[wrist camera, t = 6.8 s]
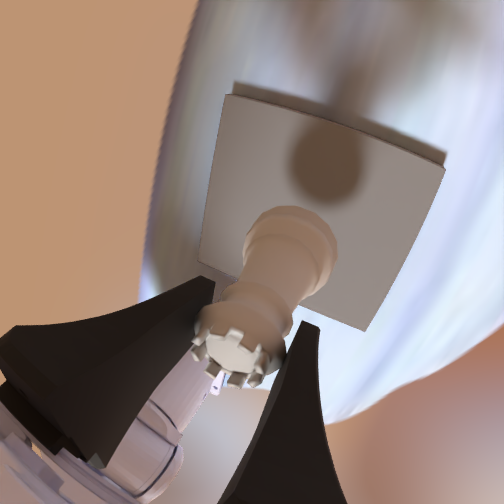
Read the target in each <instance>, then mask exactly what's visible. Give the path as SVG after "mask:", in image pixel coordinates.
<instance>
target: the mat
mask: <svg viewBox="0 0 504 504" xmlns="http://www.w3.org/2000/svg"><path fill="white" fill-rule="evenodd" d="M445 171H446V169H445V168H444V167H443V166H442V165H440V164H438V163H435V162H433V161H431V160H429V159H427V158H425V157H422V156H420V155H418V154H416V153H413V152H411V151H409V150H406V149H404V148H402V147H399V146H397V145H394V144H392V143H390V142H387V141H385V140H382V139H379V138H377V137H374V136H372V135H369V134H366V133H364V132H361V131H358V130H355V129H353V128H350V127H347V126H344V125H341V124H338V123H335V122H332V121H329V120H326V119H323V118H320V117H317V116H314V115H310V114H307V113H304V112H300V111H297V110H294V109H290V108H287V107H283V106H279V105H276V104H272V103H268V102H264V101H260V100H256V99H252V98H248V97H244V96H239V95H235V94H225V99H224V104H223V109H222V114H221V119H220V124H219V130H218V135H217V140H216V146H215V152H214V157H213V163H212V169H211V175H210V181H209V187H208V193H207V199H206V205H205V212H204V218H203V225H202V232H201V239H200V246H199V253H198V260H197V261H198V262H201V263H203V264H205V265H207V266H210V267H212V268H214V269H216V270H219V271H221V272H223V273H226V274H228V275H230V276H232V277H235V278H237V279H239V277H240V274H241V272H242V270H243V268H244V265H243V259H244V258H243V253H242V252H243V248H244V243H245V239H246V235H247V233H248V231H249V230H250V229H251V228H252V225H253V224H254V222H255V221H256V220H257V219H258V218H259V216H260V215H261V214H262V213H263V212H265V211H268V210H270V209H272V208H274V207H276V206H295V205H296V206H299V207H301V208H304V209H307V210H310V211H312V212H314V213H316V214H317V215H318V216H319V217H320V218H321V219H322V220H324V221H325V222H326V223H327V224H328V225H329V226H330V228H331V230H332V232H333V234H334V236H335V238H336V240H337V249H338V259H337V262H336V264H335V266H334V269H333V271H332V273H331V275H330V277H329V279H328V282H327V283H326V284H325V285H324V286H322V287H321V288H320V289H319V290H318V291H317V292H315V293H314V294H313V295H310V296H308V297H306V298H305V299H303V300H301V301H300V303H299V304H298V305H300V306H303V307H305V308H308V309H310V310H312V311H315V312H317V313H320V314H322V315H325V316H327V317H329V318H332V319H334V320H337V321H339V322H342V323H344V324H347V325H349V326H352V327H354V328H357V329H359V330H362V331H364V332H365V331H366V329H367V328H368V326H369V325H370V323H371V321H372V320H373V318H374V316H375V314H376V313H377V311H378V309H379V308H380V306H381V304H382V302H383V301H384V299H385V297H386V295H387V294H388V292H389V290H390V288H391V286H392V284H393V283H394V281H395V279H396V277H397V275H398V273H399V271H400V269H401V268H402V266H403V264H404V262H405V260H406V258H407V256H408V254H409V252H410V250H411V248H412V246H413V244H414V242H415V240H416V238H417V236H418V233H419V231H420V229H421V227H422V225H423V223H424V221H425V218H426V216H427V214H428V212H429V210H430V207H431V205H432V203H433V200H434V198H435V196H436V193H437V191H438V189H439V186H440V184H441V181H442V179H443V176H444V174H445Z"/></svg>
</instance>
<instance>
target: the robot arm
mask: <svg viewBox="0 0 504 504" xmlns="http://www.w3.org/2000/svg"><path fill="white" fill-rule="evenodd" d="M214 288H215V282H214V281H212V280H210V279H207V278H205V277H203V276H198V277H196V278H194V279H192V280H190V281H188V282H186V283H184V284H181V285H179V286H177V287H175V288H173V289H171V290H169V291H167V292H164V293H162V294H160V295H158V296H156V297H153V298H151V299H149V300H146V301H144V302H141V303H139V304H136V305H134V306H131V307H128V308H126V309H122V310H119V311H116V312H113V313H110V314H106V315H102V316H99V317H94V318H89V319H85V320H79V321H74V322H68V323H60V324H50V325H25V326H23V325H22V326H21V325H20V326H19V325H16V326H14V327H13V328H12V329H11V330H9V331H8V332H7V333H6V334H4V335H3V336H2V337H1V338H0V369H1V371H2V373H3V374H4V376H5V378H6V382H4V383H3V384H2V385H1V386H0V504H148V503H149V502H150V501H151V500H153V499H155V498H156V497H158V496H159V495H160V494H161V493H163V491H164V490H165V489H166V488H167V487H168V486H169V485H170V484H171V482H172V481H173V480H174V478H175V477H176V475H177V474H178V472H179V470H180V468H181V466H182V463H183V459H184V456H183V448H182V447H181V446H180V445H179V444H178V442H179V441H180V439H181V438H182V436H183V435H182V434H181V432H182V431H184V429H185V428H186V427H187V425H188V424H189V422H190V421H191V419H192V418H193V416H194V415H195V413H196V412H197V410H198V409H199V407H200V406H201V404H202V403H203V401H204V400H205V398H206V397H207V395H208V393H209V392H210V393H212V394H214V395H219V393H220V391H221V387H222V383H223V380H224V376H225V373H224V372H222V371H220V372H219V374H218V375H217V377H216V378H215V380H213V379H212V378H211V377H209V376H208V375H207V374H205V373H204V372H203V370H204V369H205V367H206V366H207V364H208V363H209V362H208V360H207V359H206V358H205V357H204V358H203V360H202V361H201V362H199V361H194V359H193V357H192V354H191V352H190V350H191V349H192V347H193V346H194V344H195V343H193V342H191V341H192V339H193V338H194V337H195V330H194V325H195V317H196V315H197V314H198V312H199V311H200V310H201V309H202V308H203V307H204V306H206V305H210V304H212V299H213V293H214ZM319 335H320V329H319V327H317V326H315V325H312V324H310V323H308V322H305V321H303V320H302V321H301V324H300V326H299V328H298V330H297V333H296V335H295V337H294V339H293V341H292V343H291V346H290V348H289V350H288V352H287V356H286V359H285V361H284V363H283V365H282V367H281V368H280V369H279V371H278V374H277V376H276V378H275V380H274V383H273V385H272V388H271V391H270V394H269V396H268V399H267V402H266V405H265V407H264V410H263V413H262V416H261V418H260V421H259V424H258V426H257V429H256V431H255V434H254V436H253V438H252V440H251V442H250V444H249V446H248V448H247V450H246V452H245V454H244V456H243V458H242V460H241V462H240V464H239V465H238V467H237V469H236V471H235V473H234V475H233V477H232V478H231V480H230V482H229V484H228V485H227V487H226V489H225V491H224V493H223V494H222V497H221V498H220V500H219V501H218V503H217V504H347V502H346V499H345V497H344V494H343V491H342V489H341V486H340V483H339V480H338V477H337V474H336V471H335V468H334V464H333V460H332V457H331V453H330V449H329V446H328V442H327V437H326V433H325V427H324V422H323V416H322V409H321V401H320V391H319V374H318V345H319ZM31 442H32V443H33V444H34V445H35V446H37V447H38V448H39V449H40V452H41V455H42V459H43V460H42V459H41V458H40V457H39V456H38V455H37V454H36V453H35V452H34V451H33V450H32V443H31Z"/></svg>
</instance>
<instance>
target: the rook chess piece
mask: <svg viewBox="0 0 504 504" xmlns="http://www.w3.org/2000/svg"><path fill="white" fill-rule="evenodd" d="M242 253H243V258H244V259H243V265H244V268H243V270H242V272H241V274H240V277H239V279H238V281H237V282H236V283H234V284H231V285H228V287H227V288H226V289H225V290H224V291H223V292H222V293H221V297H220V302H216V303H213V304H210V305H206V306H204V307H203V308H202V309H201V310H200V311H199V312H198V314H197V315H196V317H195V325H194V330H195V337H194V338H193V339H192V341H191V342H193V343H195V344H194V346H193V347H192V349H191V350H190V352H191V354H192V357H193V359H194V361H199V362H201V361H202V360H203V358H204V357H205V358H206V359H207V360H208V362H209V363H208V364H207V366H206V367H205V369H204V370H203V372H204V373H205V374H207V375H208V376H209V377H211V378H212V379H213V380H215V378H216V377H217V375H218V374H219V372H220V371H222V372H224V373H226V374H228V375H230V378H229V379H228V381H227V385H228V387H233V388H237V389H241V388H242V386H243V385H244V383H245V381H246V379H249V380H248V382H247V383H248V384H249V385H250V386H251V387H252V388H254V387H256V386H258V385H260V384H261V383H262V381H263V379H264V377H265V376H266V375H269V374H271V373H273V372H275V371H276V370H278V369H280V368H281V367H282V365H283V363H284V361H285V359H286V356H287V353H286V346H285V341H284V339H283V338H284V337H286V336H287V335H288V334H289V332H290V330H291V328H292V325H293V319H292V313H293V311H294V310H295V308H296V307H297V306H298V304H299V303H300V301H301V300H303V299H305V298H306V297H308V296H310V295H313V294H314V293H315V292H317V291H318V290H319V289H320V288H321V287H322V286H324V285H325V284H326V283H327V282H328V279H329V277H330V275H331V273H332V271H333V269H334V266H335V264H336V262H337V259H338V249H337V240H336V238H335V236H334V234H333V232H332V230H331V228H330V226H329V225H328V224H327V223H326V222H325V221H324V220H322V219H321V218H320V217H319V216H318V215H317V214H316V213H314V212H312V211H310V210H307V209H304V208H301V207H299V206H296V205H295V206H276V207H274V208H272V209H270V210H268V211H265V212H263V213H262V214H261V215H260V216H259V218H258V219H257V220H256V221H255V222H254V224H253V225H252V228H251V229H250V230H249V231H248V233H247V235H246V239H245V243H244V248H243V252H242Z"/></svg>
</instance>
